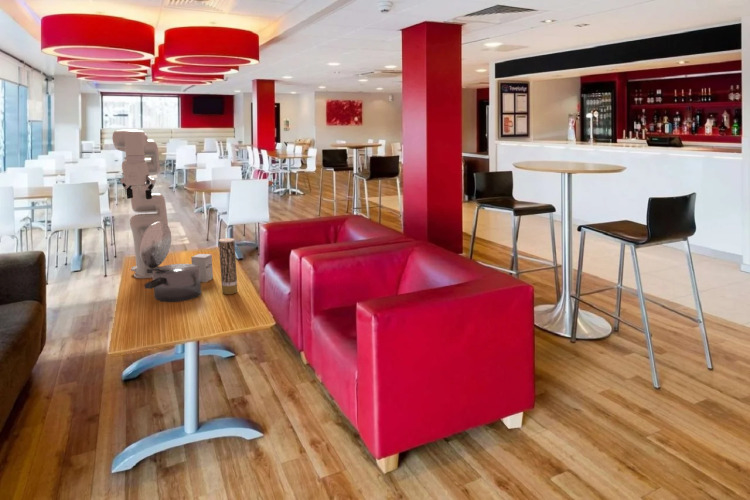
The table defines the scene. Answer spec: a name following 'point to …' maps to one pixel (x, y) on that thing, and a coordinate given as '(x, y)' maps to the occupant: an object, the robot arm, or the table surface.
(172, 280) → the pressure cooker pot
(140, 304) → the table surface
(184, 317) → the table surface
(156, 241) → the cooker lid
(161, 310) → the table surface
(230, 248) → the brown cylindrical piece
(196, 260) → the supplement box
